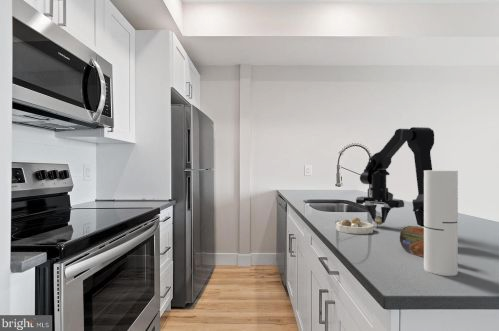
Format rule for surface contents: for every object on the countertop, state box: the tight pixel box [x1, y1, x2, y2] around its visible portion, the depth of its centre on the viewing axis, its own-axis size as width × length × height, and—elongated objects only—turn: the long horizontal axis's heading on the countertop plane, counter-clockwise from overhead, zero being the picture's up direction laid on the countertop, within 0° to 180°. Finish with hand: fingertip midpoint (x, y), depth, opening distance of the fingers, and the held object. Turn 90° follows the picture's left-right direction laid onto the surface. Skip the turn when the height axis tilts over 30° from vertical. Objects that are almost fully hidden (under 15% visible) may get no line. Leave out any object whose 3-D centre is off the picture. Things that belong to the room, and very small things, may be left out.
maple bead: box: [374, 215, 384, 226], centre depth 130 cm, size 4×4×4 cm
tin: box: [399, 225, 424, 259], centre depth 88 cm, size 15×3×8 cm, turn 25°
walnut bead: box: [342, 219, 351, 227], centre depth 122 cm, size 4×4×4 cm
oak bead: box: [351, 217, 362, 226], centre depth 127 cm, size 4×4×4 cm
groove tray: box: [335, 220, 374, 235], centre depth 123 cm, size 14×14×2 cm
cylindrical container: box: [423, 169, 459, 277], centre depth 76 cm, size 7×7×25 cm
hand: (379, 222), depth 130 cm, fingers closed on maple bead, 4 cm apart
